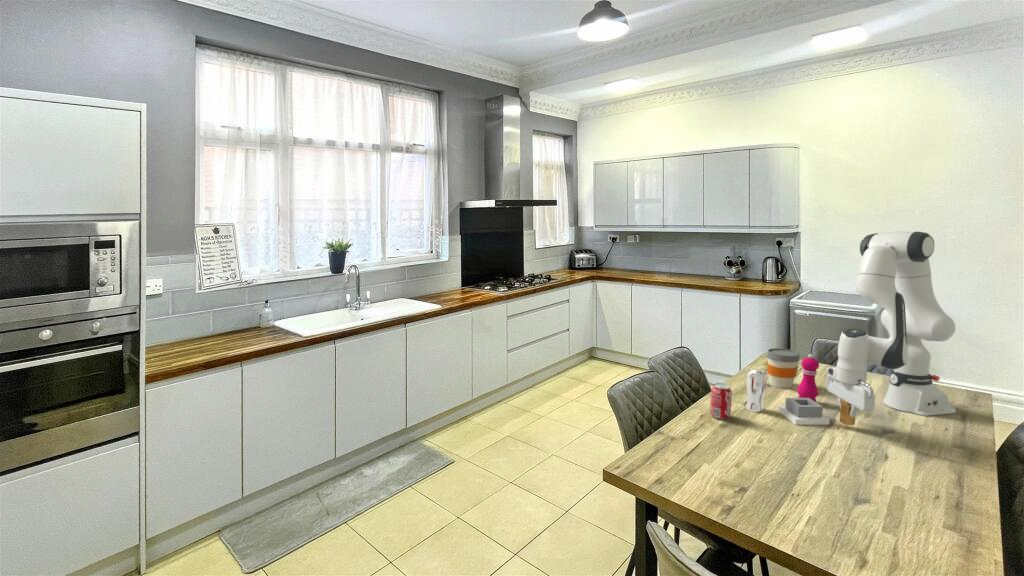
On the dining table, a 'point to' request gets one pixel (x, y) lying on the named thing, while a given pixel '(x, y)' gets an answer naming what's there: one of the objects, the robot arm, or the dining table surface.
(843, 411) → the pin
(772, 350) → the reusable coffee cup
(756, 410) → the clear waisted cup
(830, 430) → the dining table surface
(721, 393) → the soda can
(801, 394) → the pepper mill
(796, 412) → the socket
